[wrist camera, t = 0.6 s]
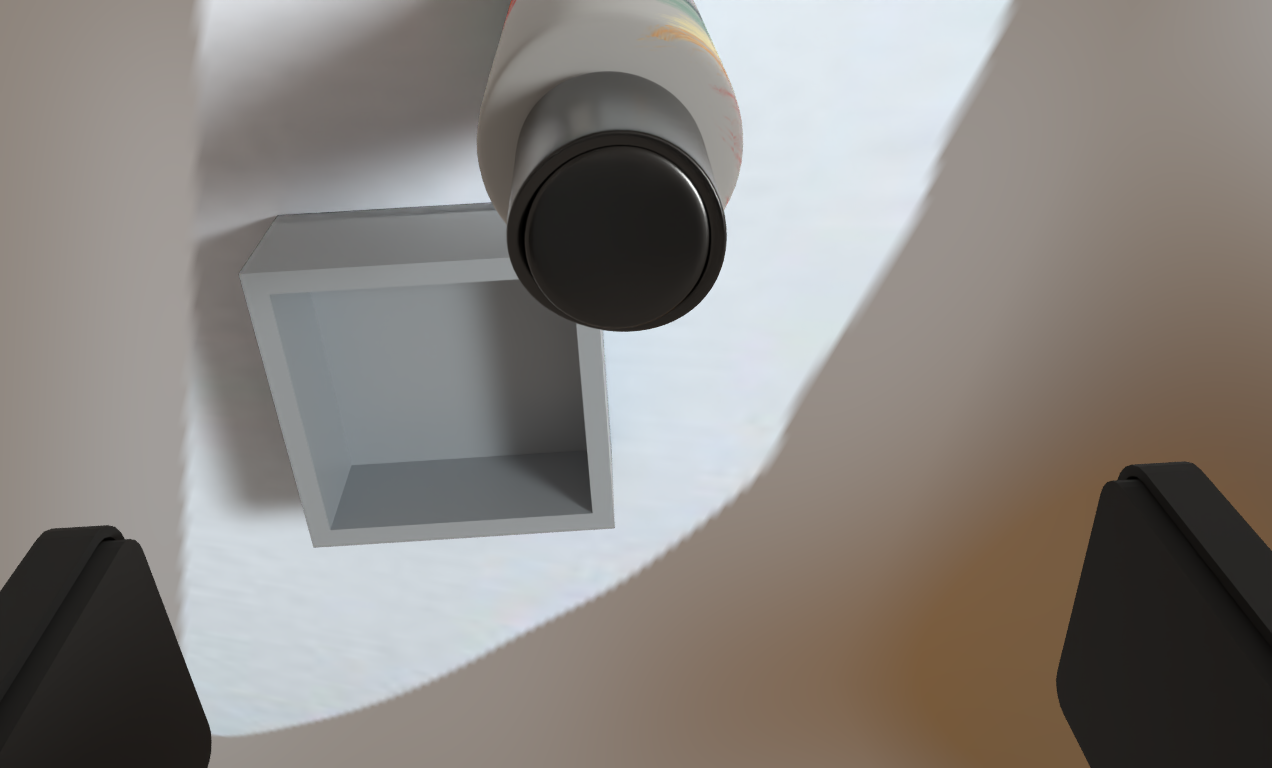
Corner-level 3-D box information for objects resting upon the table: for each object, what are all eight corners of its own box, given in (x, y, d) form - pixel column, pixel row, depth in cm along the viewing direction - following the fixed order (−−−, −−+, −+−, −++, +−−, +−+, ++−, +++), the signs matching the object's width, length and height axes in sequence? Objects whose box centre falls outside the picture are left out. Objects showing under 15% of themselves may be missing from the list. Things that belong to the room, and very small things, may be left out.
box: (277, 215, 38) (238, 274, 33) (593, 196, 38) (594, 252, 34) (340, 470, 44) (313, 547, 39) (611, 453, 44) (614, 528, 40)
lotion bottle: (491, 52, 35) (404, 333, 18) (551, -118, 32) (515, 21, 15) (644, 115, 36) (698, 432, 19) (713, -43, 34) (847, 162, 17)
